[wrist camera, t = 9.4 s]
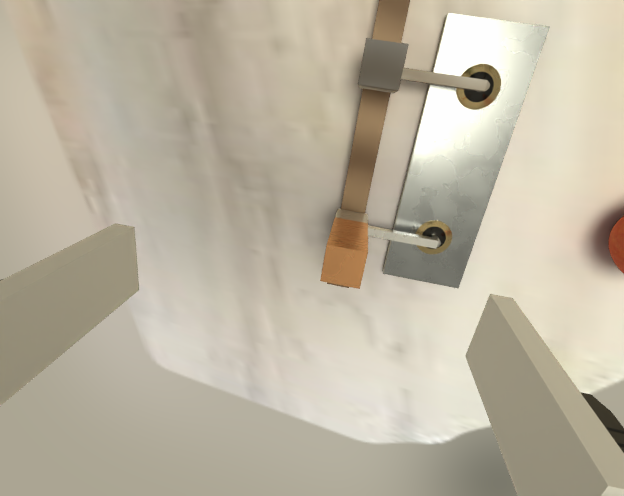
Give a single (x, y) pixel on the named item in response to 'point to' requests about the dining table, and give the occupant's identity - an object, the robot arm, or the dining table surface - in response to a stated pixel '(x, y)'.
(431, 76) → the gauge rail
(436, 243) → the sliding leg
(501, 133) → the bolt plate
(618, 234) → the apple
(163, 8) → the dining table surface
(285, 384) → the dining table surface
